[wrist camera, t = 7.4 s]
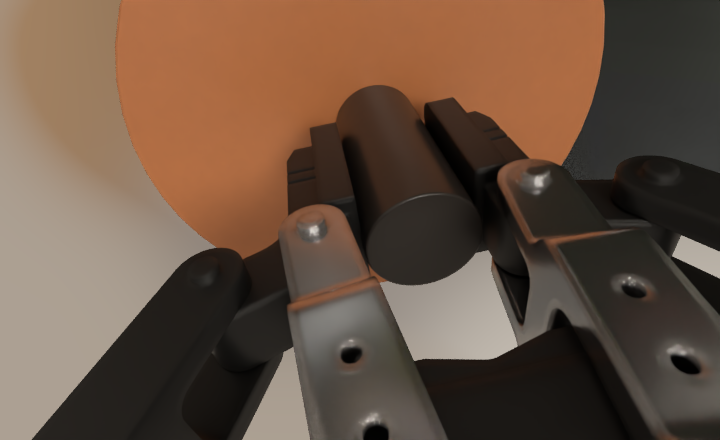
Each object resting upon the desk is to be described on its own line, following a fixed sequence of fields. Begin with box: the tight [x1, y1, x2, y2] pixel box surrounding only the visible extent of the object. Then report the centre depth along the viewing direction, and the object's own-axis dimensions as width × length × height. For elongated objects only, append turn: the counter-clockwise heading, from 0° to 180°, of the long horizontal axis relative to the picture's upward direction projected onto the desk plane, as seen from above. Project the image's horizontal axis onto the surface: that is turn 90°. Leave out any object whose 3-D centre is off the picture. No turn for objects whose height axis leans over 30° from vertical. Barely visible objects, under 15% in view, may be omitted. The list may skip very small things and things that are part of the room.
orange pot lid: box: [115, 0, 605, 285], centre depth 11 cm, size 14×14×7 cm
